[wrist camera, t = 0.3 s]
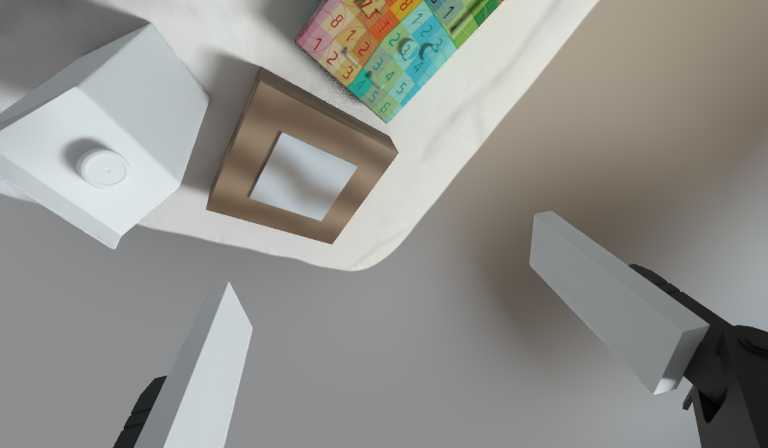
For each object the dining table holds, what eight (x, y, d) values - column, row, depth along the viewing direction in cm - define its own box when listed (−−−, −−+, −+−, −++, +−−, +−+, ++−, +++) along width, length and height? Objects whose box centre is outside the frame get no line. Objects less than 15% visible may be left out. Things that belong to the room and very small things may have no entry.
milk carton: (148, 127, 32) (62, 272, 19) (79, 56, 27) (-104, 186, 14) (211, 98, 32) (167, 225, 19) (152, 21, 27) (36, 120, 14)
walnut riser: (261, 66, 31) (260, 82, 28) (389, 136, 40) (399, 154, 37) (210, 188, 39) (205, 211, 36) (328, 225, 47) (332, 245, 44)
